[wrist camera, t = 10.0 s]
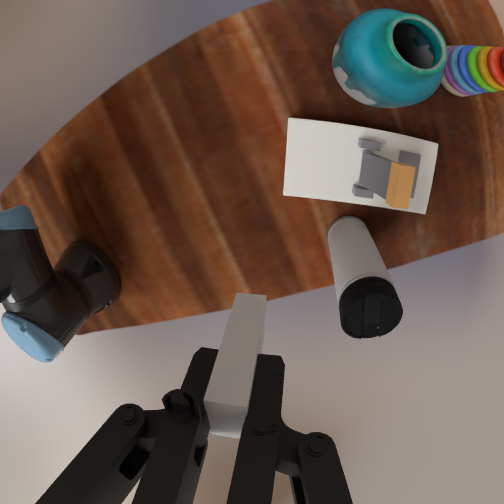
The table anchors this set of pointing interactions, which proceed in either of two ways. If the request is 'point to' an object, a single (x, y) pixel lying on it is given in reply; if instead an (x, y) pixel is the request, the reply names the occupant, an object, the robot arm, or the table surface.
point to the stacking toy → (473, 70)
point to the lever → (387, 179)
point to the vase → (389, 58)
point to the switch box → (351, 162)
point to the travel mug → (361, 281)
